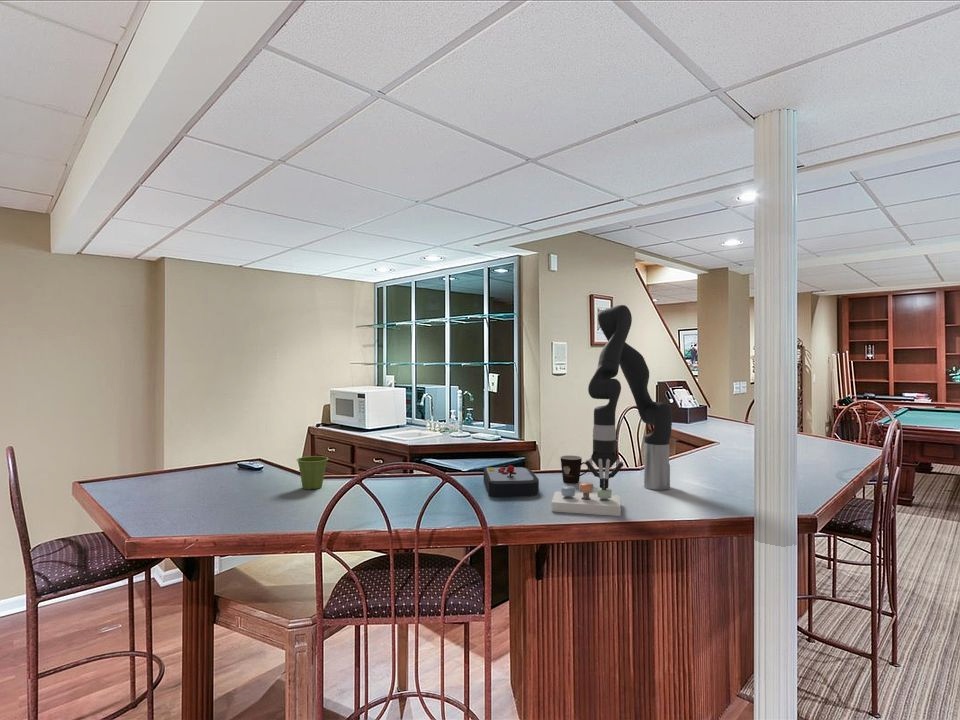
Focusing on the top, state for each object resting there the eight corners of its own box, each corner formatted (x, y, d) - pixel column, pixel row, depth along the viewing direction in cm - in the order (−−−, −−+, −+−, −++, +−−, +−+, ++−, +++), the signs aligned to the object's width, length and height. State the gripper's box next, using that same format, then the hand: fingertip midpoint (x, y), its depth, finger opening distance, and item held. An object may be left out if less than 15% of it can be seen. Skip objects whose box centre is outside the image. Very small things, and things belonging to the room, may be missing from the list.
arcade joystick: (542, 497, 191) (542, 470, 191) (489, 498, 190) (489, 471, 190) (529, 479, 219) (529, 455, 219) (483, 480, 218) (483, 456, 217)
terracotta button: (593, 499, 179) (593, 482, 179) (593, 503, 175) (593, 486, 175) (579, 498, 180) (579, 482, 180) (578, 502, 176) (579, 485, 176)
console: (619, 503, 182) (619, 495, 182) (620, 515, 168) (620, 506, 168) (555, 499, 187) (555, 491, 187) (551, 511, 173) (551, 502, 173)
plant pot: (323, 491, 198) (323, 461, 198) (291, 491, 198) (291, 461, 198) (332, 484, 209) (332, 455, 209) (302, 483, 210) (302, 455, 210)
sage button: (611, 504, 178) (611, 488, 178) (611, 508, 173) (611, 491, 173) (597, 503, 179) (597, 487, 179) (597, 507, 174) (597, 490, 174)
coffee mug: (556, 480, 215) (556, 456, 215) (573, 478, 219) (573, 454, 219) (572, 487, 205) (572, 461, 205) (590, 484, 208) (590, 459, 208)
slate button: (575, 502, 181) (575, 486, 180) (574, 506, 176) (574, 489, 176) (561, 501, 182) (561, 485, 181) (560, 505, 177) (560, 489, 177)
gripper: (624, 436, 178) (623, 488, 178) (584, 435, 181) (584, 485, 181) (625, 440, 171) (624, 493, 171) (583, 438, 174) (583, 491, 174)
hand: (603, 489), depth 176 cm, fingers closed
